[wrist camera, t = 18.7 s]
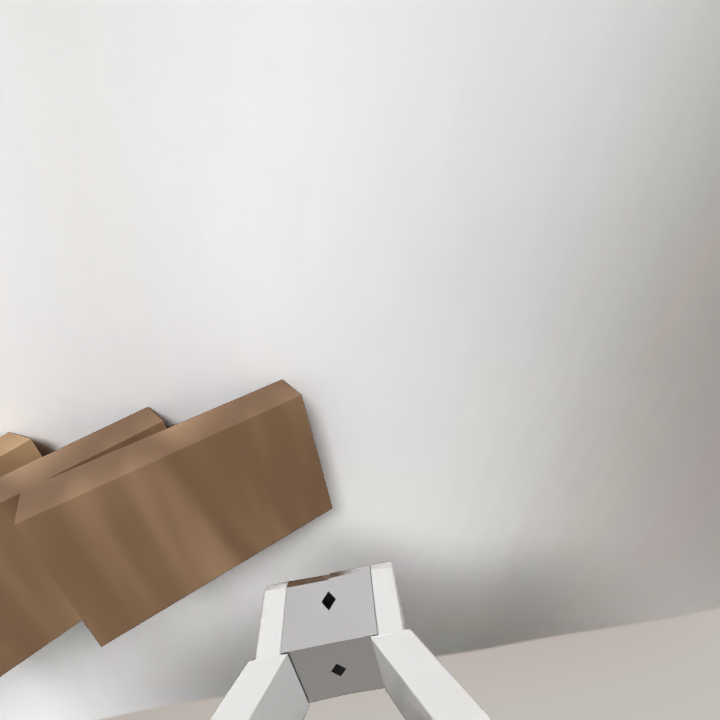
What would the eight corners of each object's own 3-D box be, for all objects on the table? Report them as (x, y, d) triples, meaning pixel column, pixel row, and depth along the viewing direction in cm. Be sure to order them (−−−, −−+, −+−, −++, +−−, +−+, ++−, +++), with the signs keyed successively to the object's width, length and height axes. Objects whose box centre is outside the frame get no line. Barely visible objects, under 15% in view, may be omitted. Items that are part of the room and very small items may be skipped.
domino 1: (163, 420, 14) (-185, 594, 10) (212, 529, 16) (-53, 713, 12) (148, 406, 15) (-169, 557, 11) (195, 509, 17) (-52, 670, 13)
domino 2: (301, 394, 14) (13, 524, 11) (332, 508, 16) (101, 647, 13) (282, 379, 15) (20, 490, 12) (313, 486, 17) (99, 606, 14)
